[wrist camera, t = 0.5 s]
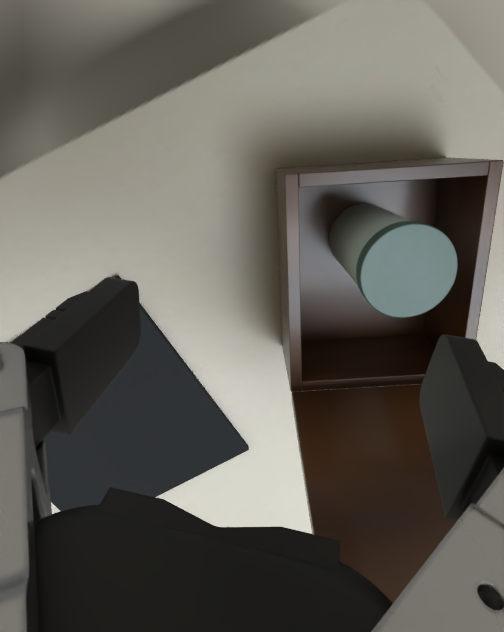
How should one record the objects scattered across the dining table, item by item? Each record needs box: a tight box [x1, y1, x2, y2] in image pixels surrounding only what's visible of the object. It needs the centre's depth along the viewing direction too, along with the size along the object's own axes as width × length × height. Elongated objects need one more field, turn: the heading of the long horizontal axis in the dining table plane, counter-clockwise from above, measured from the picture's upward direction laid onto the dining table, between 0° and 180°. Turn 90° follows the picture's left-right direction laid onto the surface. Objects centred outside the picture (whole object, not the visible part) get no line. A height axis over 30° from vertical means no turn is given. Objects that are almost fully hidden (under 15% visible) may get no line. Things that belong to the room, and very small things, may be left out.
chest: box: [276, 158, 503, 392], centre depth 30 cm, size 15×13×7 cm
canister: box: [329, 203, 458, 318], centre depth 27 cm, size 5×5×10 cm
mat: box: [44, 276, 249, 511], centre depth 39 cm, size 20×20×1 cm
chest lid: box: [292, 384, 457, 603], centre depth 23 cm, size 15×13×1 cm
